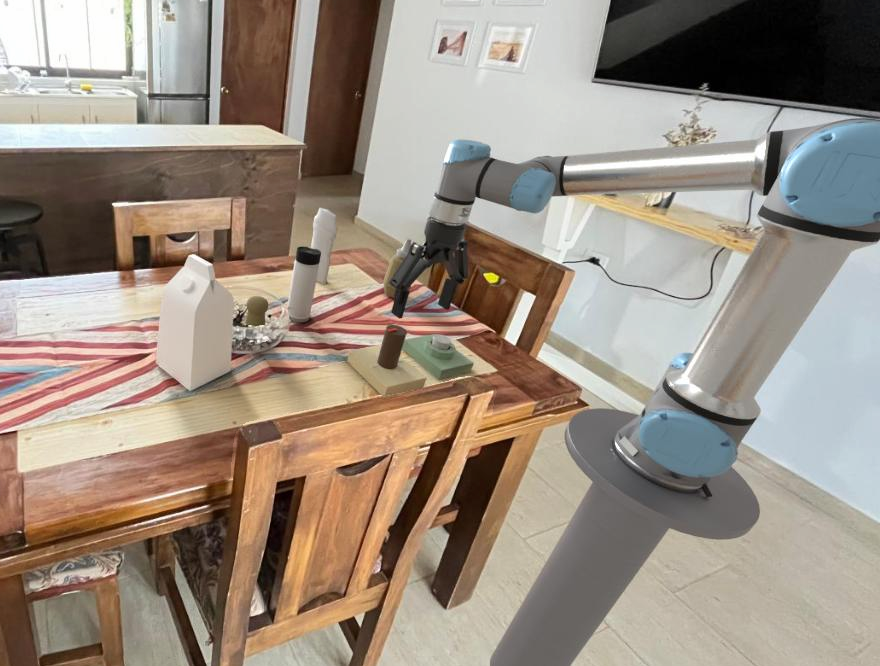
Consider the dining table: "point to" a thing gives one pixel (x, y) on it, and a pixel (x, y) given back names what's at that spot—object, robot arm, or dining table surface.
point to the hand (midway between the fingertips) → (420, 311)
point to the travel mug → (303, 283)
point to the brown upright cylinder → (391, 346)
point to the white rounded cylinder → (324, 240)
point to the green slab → (437, 357)
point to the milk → (195, 325)
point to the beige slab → (385, 372)
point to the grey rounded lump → (441, 342)
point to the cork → (256, 310)
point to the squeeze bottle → (395, 268)
